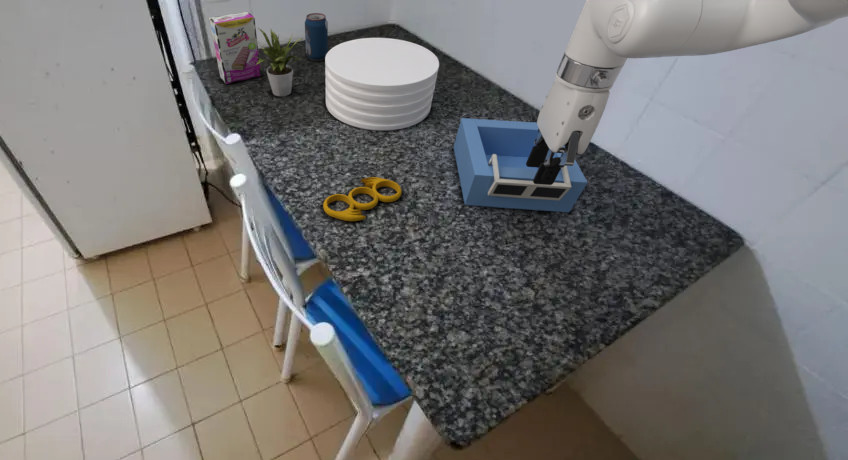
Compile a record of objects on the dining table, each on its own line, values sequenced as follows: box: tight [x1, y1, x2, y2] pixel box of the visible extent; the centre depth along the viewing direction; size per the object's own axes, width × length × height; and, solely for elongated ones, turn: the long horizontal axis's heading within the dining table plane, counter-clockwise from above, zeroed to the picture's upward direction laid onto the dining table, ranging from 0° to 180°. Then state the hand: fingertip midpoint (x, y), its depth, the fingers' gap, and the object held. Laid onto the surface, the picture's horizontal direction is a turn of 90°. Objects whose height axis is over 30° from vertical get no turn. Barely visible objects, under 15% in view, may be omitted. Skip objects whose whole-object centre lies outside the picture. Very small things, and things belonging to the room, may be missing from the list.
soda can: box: [304, 12, 329, 62], centre depth 120 cm, size 7×7×12 cm
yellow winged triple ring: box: [322, 176, 402, 222], centre depth 77 cm, size 17×2×10 cm
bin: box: [453, 117, 588, 213], centre depth 80 cm, size 20×20×8 cm
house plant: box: [250, 27, 305, 97], centre depth 102 cm, size 14×14×16 cm
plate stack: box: [324, 37, 440, 131], centre depth 100 cm, size 28×28×12 cm
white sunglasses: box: [488, 154, 571, 200], centre depth 73 cm, size 6×13×4 cm, turn 85°
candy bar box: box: [208, 11, 262, 85], centre depth 108 cm, size 11×5×16 cm, turn 122°
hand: (538, 173), depth 68 cm, fingers open, 4 cm apart
